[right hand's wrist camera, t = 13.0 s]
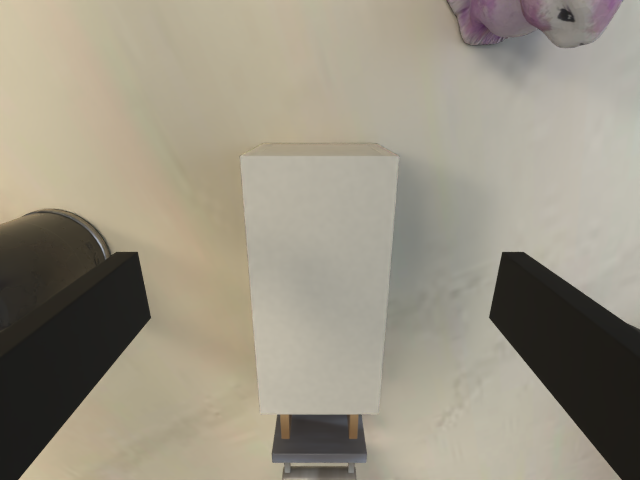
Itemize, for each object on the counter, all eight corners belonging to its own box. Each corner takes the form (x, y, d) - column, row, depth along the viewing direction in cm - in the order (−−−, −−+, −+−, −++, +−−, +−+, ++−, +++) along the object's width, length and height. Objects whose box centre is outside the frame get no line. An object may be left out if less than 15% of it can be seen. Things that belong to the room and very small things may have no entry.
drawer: (356, 439, 42) (363, 501, 35) (282, 439, 42) (274, 501, 35) (367, 237, 33) (379, 270, 26) (271, 237, 33) (259, 270, 26)
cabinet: (365, 346, 38) (378, 414, 30) (273, 346, 38) (259, 414, 30) (377, 143, 31) (399, 155, 22) (262, 143, 31) (239, 155, 22)
